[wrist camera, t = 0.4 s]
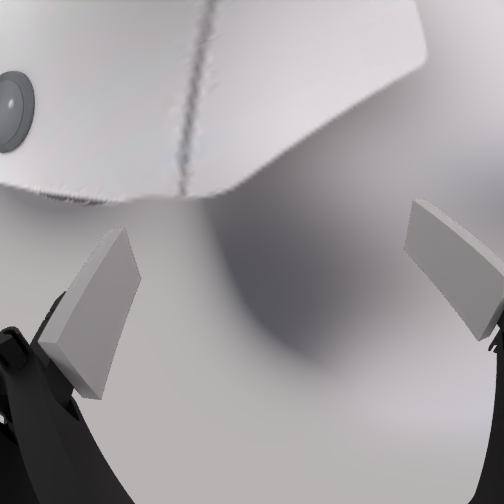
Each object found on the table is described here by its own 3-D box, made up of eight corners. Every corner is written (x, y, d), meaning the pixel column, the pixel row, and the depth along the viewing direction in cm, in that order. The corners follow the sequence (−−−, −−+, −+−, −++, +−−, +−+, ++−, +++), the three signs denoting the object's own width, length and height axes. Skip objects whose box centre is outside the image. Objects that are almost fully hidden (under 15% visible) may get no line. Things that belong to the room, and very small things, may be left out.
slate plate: (-19, 93, 23) (-24, 94, 22) (30, 57, 23) (25, 56, 22) (-9, 161, 31) (-14, 163, 29) (40, 134, 31) (35, 136, 29)
